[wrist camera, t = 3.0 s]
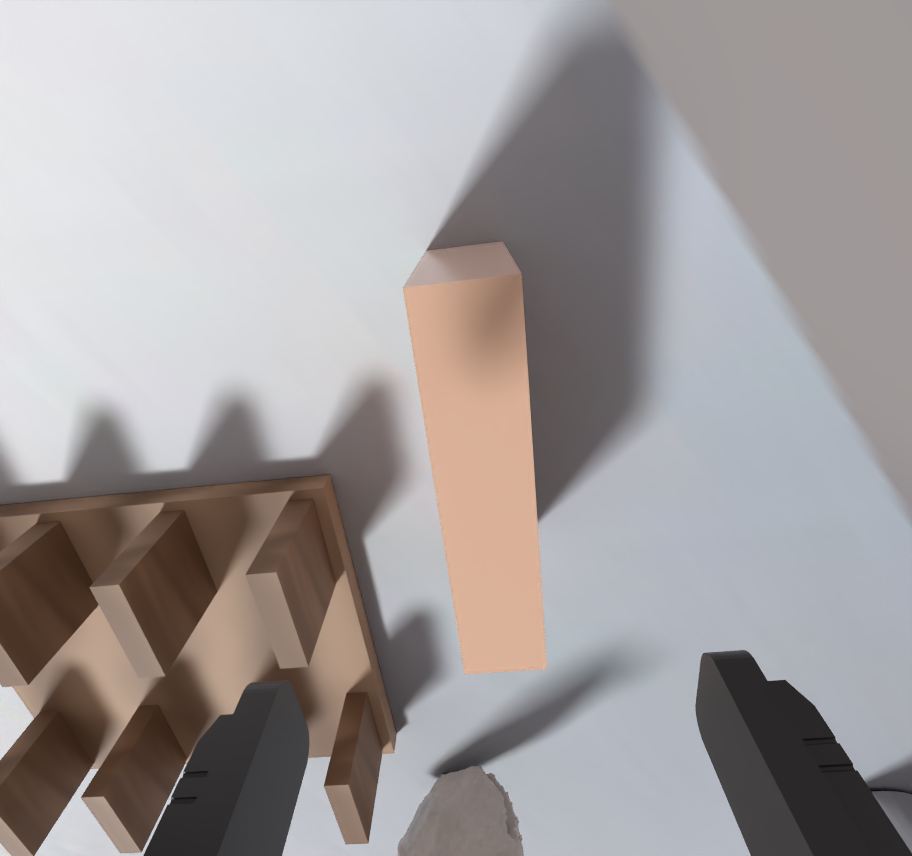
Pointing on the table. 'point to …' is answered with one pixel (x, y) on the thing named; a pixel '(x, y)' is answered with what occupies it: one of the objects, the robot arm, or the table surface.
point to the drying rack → (178, 646)
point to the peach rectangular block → (481, 448)
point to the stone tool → (464, 819)
